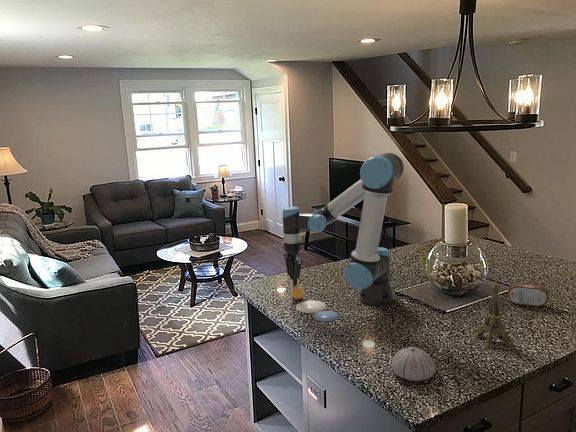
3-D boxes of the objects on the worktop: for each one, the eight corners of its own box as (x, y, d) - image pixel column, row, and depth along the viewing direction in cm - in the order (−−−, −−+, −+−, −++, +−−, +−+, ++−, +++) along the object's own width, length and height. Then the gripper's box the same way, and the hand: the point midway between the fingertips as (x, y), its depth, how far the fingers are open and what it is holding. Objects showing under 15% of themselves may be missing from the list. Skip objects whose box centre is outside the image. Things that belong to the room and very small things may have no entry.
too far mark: (341, 312, 195) (341, 312, 195) (334, 322, 186) (334, 322, 186) (317, 310, 199) (317, 309, 199) (310, 320, 189) (310, 319, 189)
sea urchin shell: (386, 364, 154) (386, 341, 152) (427, 361, 155) (427, 338, 153) (397, 387, 141) (397, 362, 139) (442, 383, 142) (443, 358, 140)
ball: (302, 292, 216) (307, 290, 211) (297, 302, 213) (302, 300, 208) (292, 285, 215) (297, 283, 210) (287, 295, 212) (292, 293, 208)
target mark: (329, 302, 206) (329, 301, 206) (321, 314, 194) (321, 313, 194) (301, 299, 211) (301, 299, 211) (291, 311, 199) (291, 310, 199)
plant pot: (441, 279, 227) (441, 262, 225) (421, 279, 229) (421, 261, 227) (439, 272, 236) (439, 256, 234) (419, 272, 238) (419, 256, 236)
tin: (547, 305, 192) (549, 285, 190) (548, 308, 189) (549, 288, 187) (506, 301, 198) (507, 282, 196) (506, 304, 195) (507, 284, 193)
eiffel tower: (471, 335, 170) (473, 268, 165) (500, 332, 171) (503, 266, 166) (486, 349, 160) (488, 278, 155) (516, 346, 161) (519, 276, 156)
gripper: (277, 239, 214) (280, 289, 219) (291, 246, 202) (293, 298, 208) (292, 237, 217) (294, 285, 222) (306, 243, 206) (308, 294, 211)
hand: (294, 291), depth 215 cm, fingers closed
